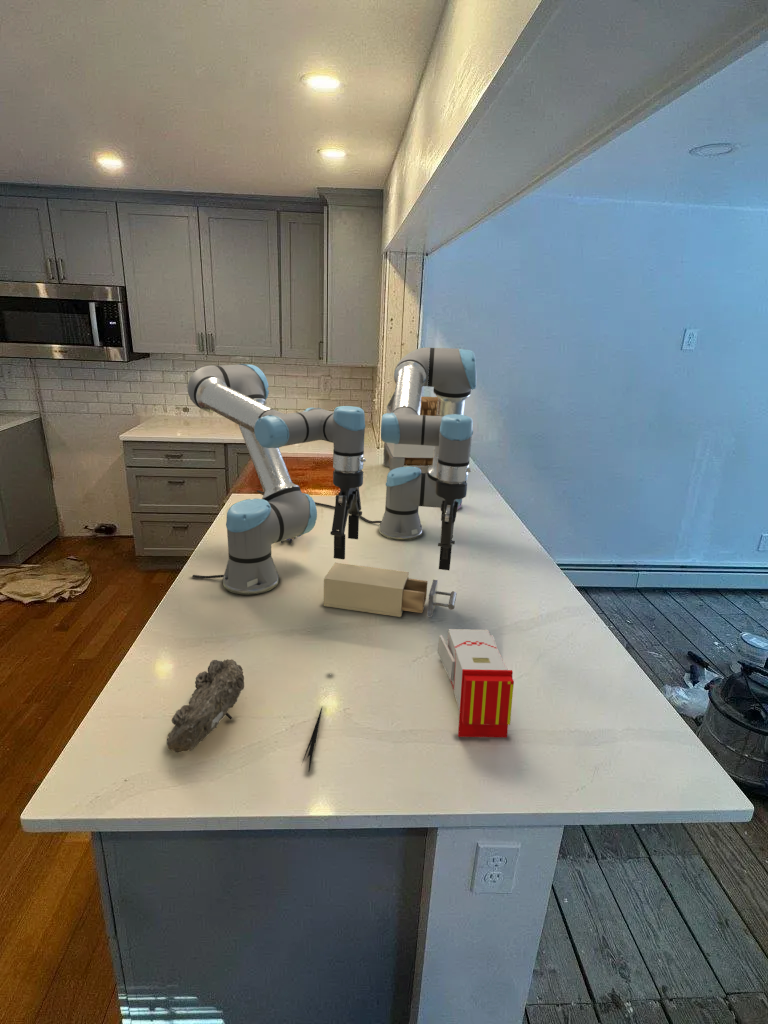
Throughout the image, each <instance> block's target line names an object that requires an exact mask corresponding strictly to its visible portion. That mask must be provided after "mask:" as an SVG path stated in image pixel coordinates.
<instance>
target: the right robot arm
mask: <svg viewBox="0 0 768 1024" xmlns="http://www.w3.org/2000/svg"><path fill="white" fill-rule="evenodd" d="M393 381H394V383H395V388H394V389H395V390H394V392H395V394H394V393H393V394H394V400H393V406H392V412H391V413H386V412H385V413H384V414H382V416H381V422H380V439H381V441H382V442H383V443H384V442H386V443H394V444H411V445H427V446H434V453H433V465H430V466H428V468H427V472H422V469H421V468H420V467H419V466H418V467H417V466H404V467H399V468H395V469H393V470H391V471H390V470H389V471H388V473H387V475H386V482H385V487H386V488H385V489H386V490H385V504H384V505H385V507H384V508H385V509H384V513H383V515H382V519H381V520H369V519H367V518H366V517H364V516H361V515H358V516H359V519H362V520H363V521H364V522H367V523H368V524H369V523H370V524H379V527H378V533H379V534H380V535H381V536H382V537H385V538H387V539H389V540H395V541H410V540H415V539H418V538H420V537H421V536H422V535H423V525H422V524H421V518H420V515H419V507H425V508H437V509H440V511H441V513H440V514H441V515H440V521H441V529H440V542H438V544H437V547H440V548H439V560H438V570H443V571H450V569H451V562H452V561H451V559H452V549H453V545H455V544H456V542H455V540H453V538H454V528H455V522H456V519H457V512H458V510H459V509H458V507H459V505H460V504H461V501H462V502H463V499H464V498H466V497H467V492H468V482H467V481H468V479H469V473H471V472H472V469H471V467H470V457H471V448H472V442H473V441H472V440H473V435H474V427H473V425H474V420H473V418H472V417H471V416H468V415H465V414H464V413H465V403H466V399H467V398H469V397H470V396H471V392H472V390H475V389H476V388H477V363H476V353H475V352H474V351H473V350H471V349H465V348H464V349H463V348H461V347H460V348H456V347H455V348H453V347H450V348H449V347H427V346H426V347H425V346H424V347H419V348H417V349H414V350H412V351H410V352H409V353H406V354H405V355H404V356H403V357H401V359H400V360H399V361H398V363H397V364H396V366H395V369H394V373H393ZM423 387H430V388H433V394H434V395H435V397H438V402H437V415H436V416H427V415H420V405H421V397H422V391H423ZM256 492H257V493H259V494H262V495H264V491H263V490H262V491H261V490H258V489H257V490H256ZM314 502H315V505H316V506H322V507H327V508H331V509H335V505H331V504H327V503H321V502H316V501H314ZM461 505H462V504H461ZM457 509H458V510H457ZM348 514H350V513H349V512H348Z"/></svg>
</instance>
